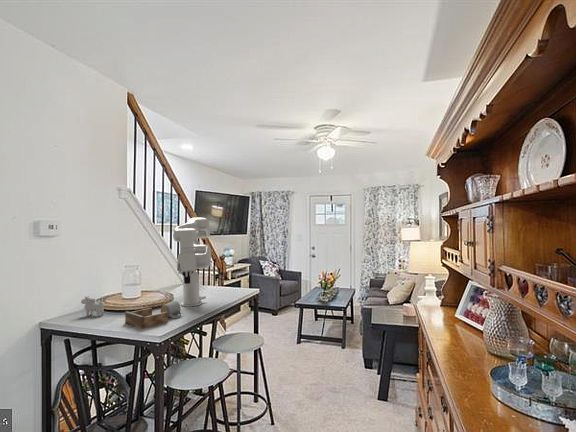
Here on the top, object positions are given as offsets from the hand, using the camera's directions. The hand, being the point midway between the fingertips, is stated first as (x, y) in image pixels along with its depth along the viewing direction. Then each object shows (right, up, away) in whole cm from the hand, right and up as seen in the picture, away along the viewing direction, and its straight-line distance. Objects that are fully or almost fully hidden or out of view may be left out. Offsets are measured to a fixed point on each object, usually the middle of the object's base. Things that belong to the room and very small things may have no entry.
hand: (187, 283), depth 191 cm
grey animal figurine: (-52, -18, -3) cm, 55 cm away
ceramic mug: (-5, -17, -8) cm, 19 cm away
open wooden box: (-15, -16, -19) cm, 29 cm away
